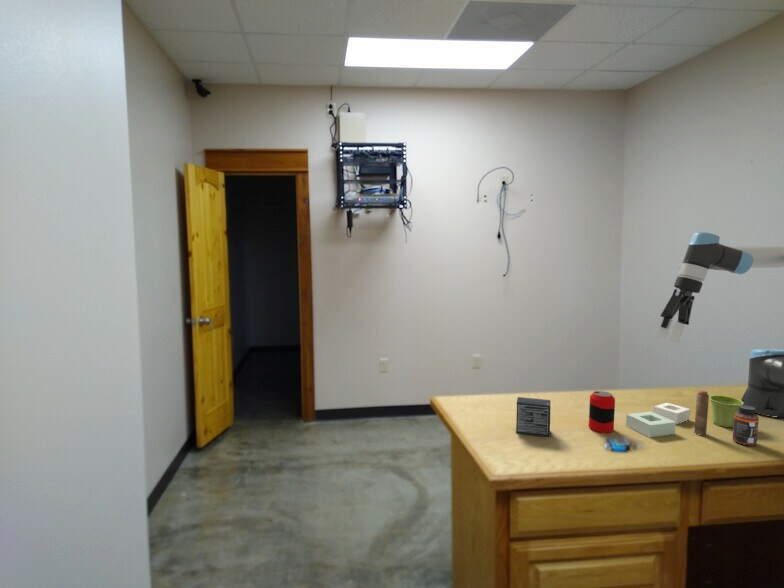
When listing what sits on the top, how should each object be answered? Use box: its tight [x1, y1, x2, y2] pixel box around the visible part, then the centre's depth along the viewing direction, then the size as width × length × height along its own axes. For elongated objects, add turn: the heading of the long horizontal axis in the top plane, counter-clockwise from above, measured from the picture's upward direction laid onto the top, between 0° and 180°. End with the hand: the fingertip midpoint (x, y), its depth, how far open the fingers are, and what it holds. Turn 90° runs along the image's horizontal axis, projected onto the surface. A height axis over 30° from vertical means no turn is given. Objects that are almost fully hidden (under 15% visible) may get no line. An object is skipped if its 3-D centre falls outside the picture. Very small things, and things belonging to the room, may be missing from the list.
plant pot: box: [709, 394, 743, 428], centre depth 157 cm, size 9×9×9 cm
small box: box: [515, 396, 552, 438], centre depth 151 cm, size 11×6×10 cm, turn 71°
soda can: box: [588, 390, 616, 434], centre depth 153 cm, size 8×8×12 cm
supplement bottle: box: [732, 405, 760, 447], centre depth 143 cm, size 6×6×11 cm
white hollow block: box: [653, 402, 691, 425], centre depth 163 cm, size 8×8×4 cm
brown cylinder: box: [693, 390, 710, 436], centre depth 149 cm, size 3×3×14 cm
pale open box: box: [625, 411, 677, 438], centre depth 153 cm, size 10×10×4 cm
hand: (667, 339), depth 156 cm, fingers open, 13 cm apart
